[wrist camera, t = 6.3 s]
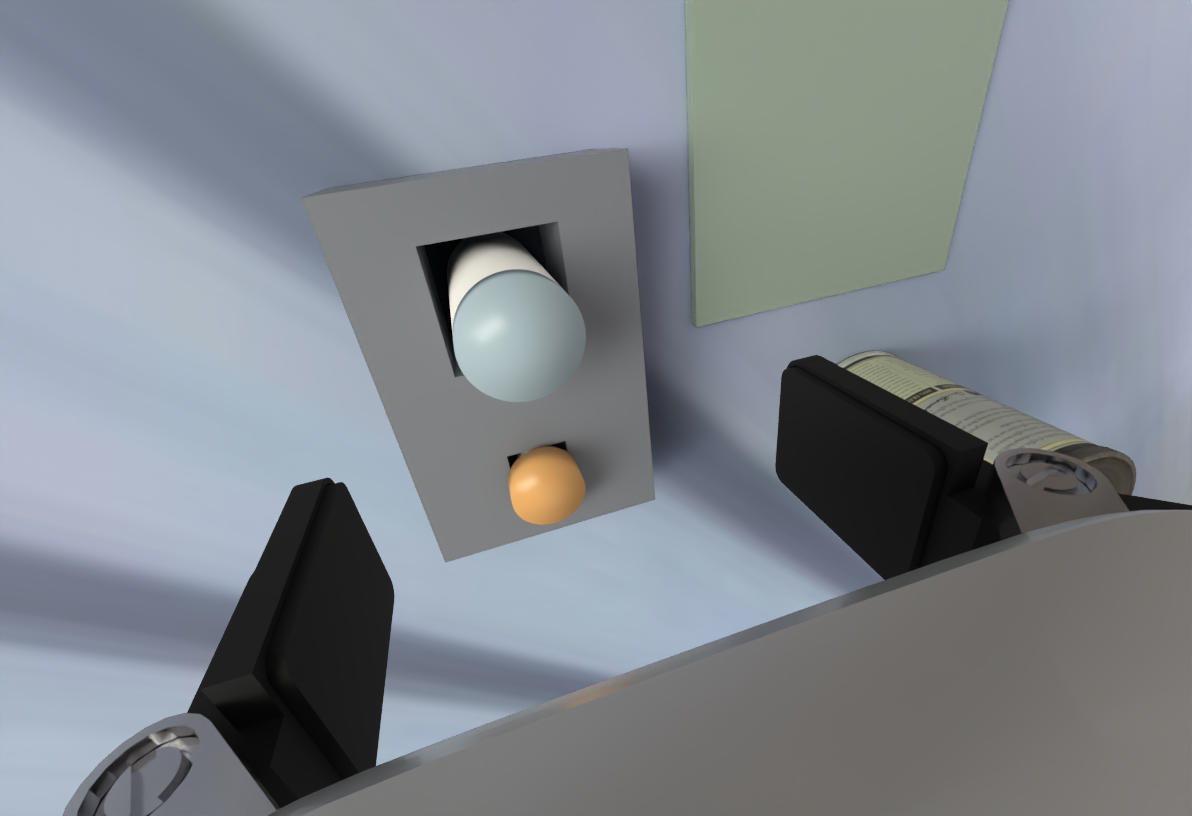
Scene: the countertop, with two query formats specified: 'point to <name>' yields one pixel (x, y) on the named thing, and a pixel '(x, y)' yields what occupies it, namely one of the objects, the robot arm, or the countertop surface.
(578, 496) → the orange egg
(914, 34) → the mat
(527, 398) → the cartridge
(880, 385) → the coffee can
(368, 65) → the countertop surface
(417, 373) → the block
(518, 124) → the countertop surface
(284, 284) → the countertop surface
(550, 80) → the countertop surface
